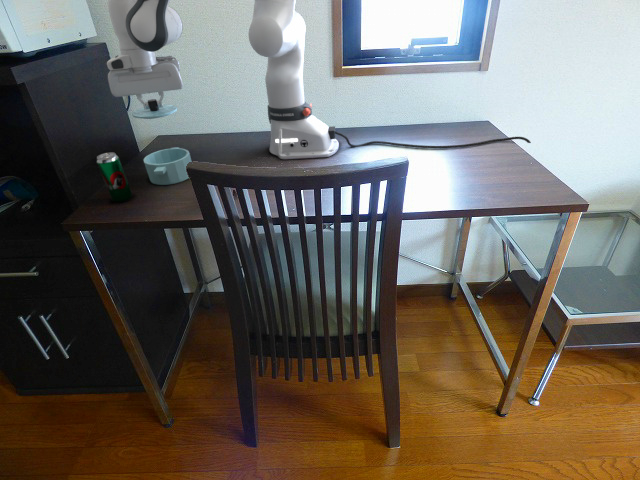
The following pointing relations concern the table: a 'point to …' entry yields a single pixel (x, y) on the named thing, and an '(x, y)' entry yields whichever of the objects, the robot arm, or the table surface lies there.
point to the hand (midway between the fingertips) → (154, 107)
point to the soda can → (114, 177)
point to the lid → (154, 110)
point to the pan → (167, 166)
